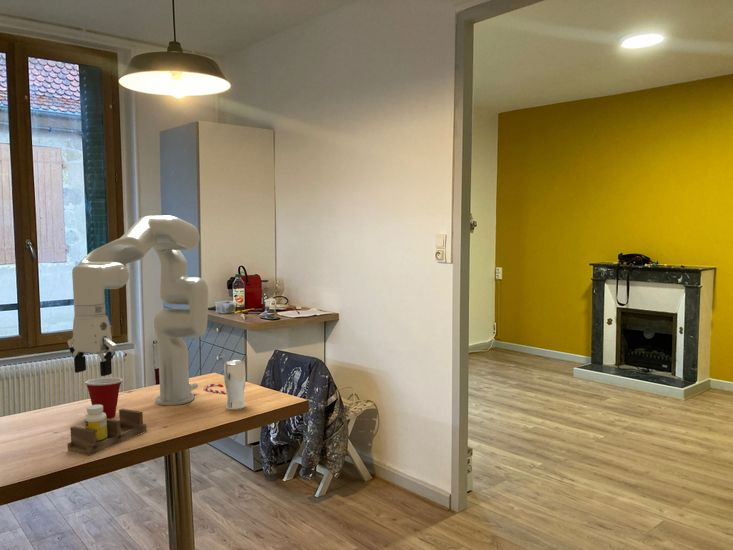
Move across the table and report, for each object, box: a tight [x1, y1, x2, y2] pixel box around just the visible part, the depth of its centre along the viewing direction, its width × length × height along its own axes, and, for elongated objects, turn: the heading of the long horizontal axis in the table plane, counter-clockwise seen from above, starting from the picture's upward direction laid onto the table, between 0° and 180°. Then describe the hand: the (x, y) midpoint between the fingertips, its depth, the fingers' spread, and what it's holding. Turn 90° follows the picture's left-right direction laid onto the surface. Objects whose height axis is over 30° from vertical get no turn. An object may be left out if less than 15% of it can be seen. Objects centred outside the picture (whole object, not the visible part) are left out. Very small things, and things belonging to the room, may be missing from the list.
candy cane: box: [203, 383, 227, 395], centre depth 216 cm, size 8×1×15 cm
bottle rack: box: [66, 408, 147, 457], centre depth 166 cm, size 20×8×6 cm, turn 155°
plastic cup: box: [84, 377, 123, 419], centre depth 186 cm, size 11×11×12 cm
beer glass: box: [223, 359, 247, 411], centre depth 195 cm, size 7×7×15 cm
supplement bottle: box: [84, 404, 108, 443], centre depth 162 cm, size 5×5×10 cm
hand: (93, 373), depth 161 cm, fingers open, 9 cm apart
